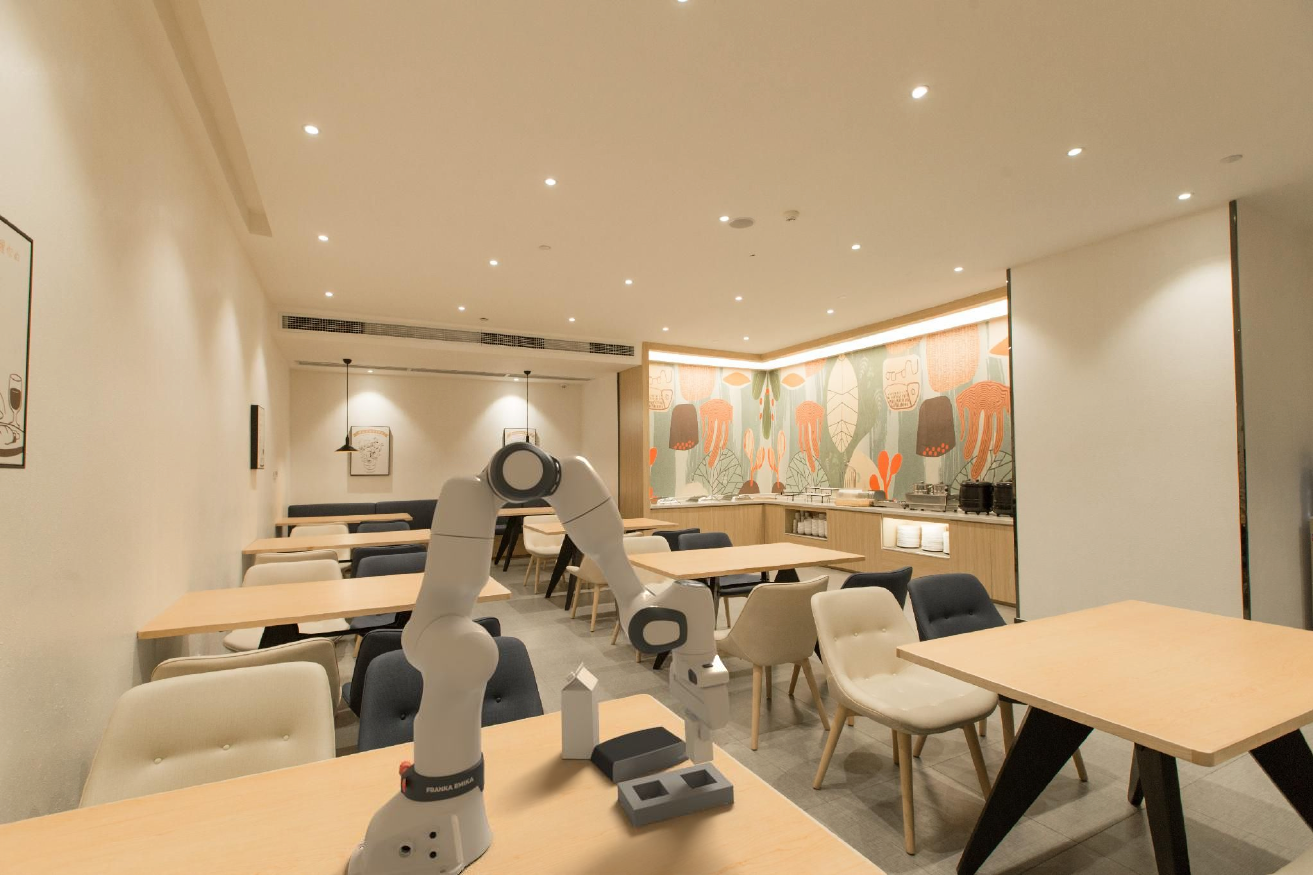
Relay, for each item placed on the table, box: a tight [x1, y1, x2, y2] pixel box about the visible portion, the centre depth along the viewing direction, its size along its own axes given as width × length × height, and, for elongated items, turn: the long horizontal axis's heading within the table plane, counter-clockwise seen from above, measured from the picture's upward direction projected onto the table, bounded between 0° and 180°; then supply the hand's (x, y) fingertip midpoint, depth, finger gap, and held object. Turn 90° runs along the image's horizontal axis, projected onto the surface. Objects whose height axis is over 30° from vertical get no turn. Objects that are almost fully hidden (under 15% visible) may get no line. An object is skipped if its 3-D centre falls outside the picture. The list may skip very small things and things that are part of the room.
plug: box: [683, 713, 714, 766], centre depth 115 cm, size 4×4×9 cm
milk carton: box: [560, 661, 600, 760], centre depth 134 cm, size 7×7×19 cm
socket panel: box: [617, 761, 735, 828], centre depth 112 cm, size 20×10×3 cm, turn 111°
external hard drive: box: [589, 726, 690, 784], centre depth 129 cm, size 13×19×4 cm
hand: (698, 734), depth 115 cm, fingers closed on plug, 4 cm apart
